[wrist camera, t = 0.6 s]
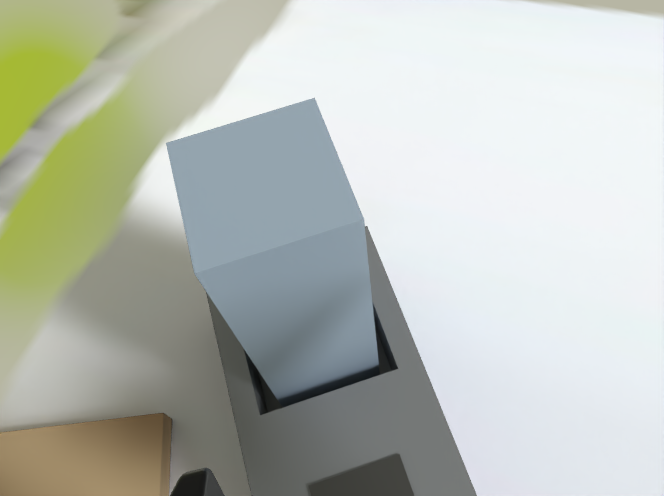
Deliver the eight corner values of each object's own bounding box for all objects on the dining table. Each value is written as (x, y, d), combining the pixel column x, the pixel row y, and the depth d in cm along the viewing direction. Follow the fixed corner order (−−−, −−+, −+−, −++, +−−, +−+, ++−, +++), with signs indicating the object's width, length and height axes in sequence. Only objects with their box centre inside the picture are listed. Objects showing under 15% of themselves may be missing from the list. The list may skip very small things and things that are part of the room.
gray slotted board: (563, 747, 18) (596, 779, 15) (345, 831, 18) (334, 882, 15) (370, 260, 27) (366, 218, 24) (222, 308, 27) (198, 271, 24)
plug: (380, 379, 24) (363, 219, 14) (285, 411, 24) (194, 273, 13) (349, 293, 26) (314, 98, 16) (261, 322, 26) (165, 143, 15)
